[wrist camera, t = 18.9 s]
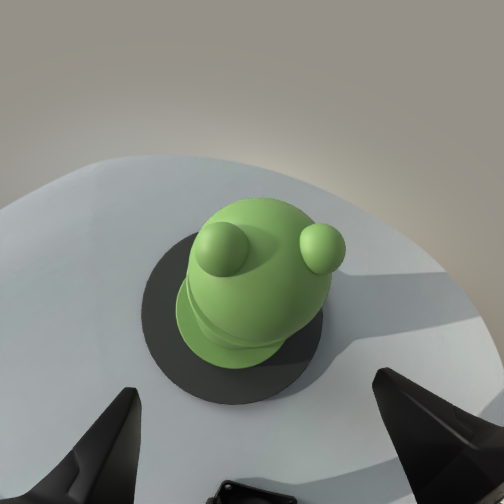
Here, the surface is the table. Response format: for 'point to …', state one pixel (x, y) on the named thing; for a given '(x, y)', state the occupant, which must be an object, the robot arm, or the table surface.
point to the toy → (255, 280)
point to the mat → (200, 371)
